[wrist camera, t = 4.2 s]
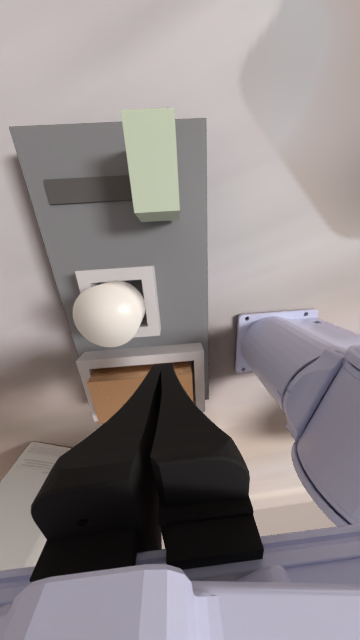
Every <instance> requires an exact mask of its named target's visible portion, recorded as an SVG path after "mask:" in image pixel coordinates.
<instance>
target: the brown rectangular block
mask: <svg viewBox="0 0 360 640" xmlns="http://www.w3.org/2000/svg"><path fill="white" fill-rule="evenodd" d="M170 363H172V364H173V366H174V370H175V373H176V375H177V377H178V379H179V381H180V383H181V385H182V387H183V388H184V390H185V391H186V393H187V394H188V396H189V397H190V398H191V400H192V401H193V383H192V371H191V365H190V361H182V362H170ZM158 364H166V363H158ZM153 365H156V364H146V365H134V366H122V367H110V368H98V369H96V370H95V371H94V373H93V374H92V376H91V377H90V378H89V380H88V381H87V386H88V389H89V393H90V396H91V399H92V403H93V406H94V409H95V413H96V416H97V419H98V423H105V422H107V421H108V420H109V419H110V418H111V417H112V416H113V415H114V414H115V413H116V412H117V411H118V410H119V409H120V408H121V407H122V406H123V405H124V404H125V403H126V402H127V401H128V399H129V398H130V397H131V396H132V395H133V393H134V392H135V391H136V390H137V388H138V387H139V386H140V384H141V383H142V381H143V380H144V378H145V377H146V375H147V374H148V372H149V370H150V369H151V367H152V366H153Z"/></svg>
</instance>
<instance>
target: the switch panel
mask: <svg viewBox="0 0 360 640" xmlns="http://www.w3.org/2000/svg"><path fill="white" fill-rule="evenodd" d="M9 129H10V132H11V136H12V139H13V142H14V146H15V149H16V152H17V156H18V159H19V162H20V166H21V169H22V172H23V176H24V179H25V182H26V185H27V189H28V192H29V195H30V199H31V202H32V205H33V209H34V212H35V215H36V219H37V222H38V225H39V229H40V232H41V235H42V238H43V242H44V245H45V248H46V252H47V255H48V258H49V262H50V265H51V268H52V272H53V275H54V278H55V282H56V285H57V288H58V291H59V295H60V298H61V301H62V305H63V308H64V311H65V315H66V318H67V321H68V325H69V328H70V331H71V335H72V338H73V341H74V344H75V348H76V351H77V354H78V359H77V360H76V364H77V368H78V371H79V374H80V377H81V380H82V384H83V387H84V390H85V393H86V396H87V400H88V403H89V406H90V409H91V413H92V416H93V419H94V422H96V421H98V419H97V416H96V413H95V409H94V406H93V403H92V399H91V396H90V393H89V389H88V386H87V381H88V380H89V378H90V377H91V376H92V374H93V373H94V371H95V370H96V369H98V368H110V367H122V366H134V365H146V364H158V363H170V362H182V361H190V365H191V371H192V383H193V402H194V403H195V405H196V406H197V407H198V408H199V409H200V410H201V411H202V412H205V400H207V399H209V377H208V260H207V143H206V118H193V119H175V129H176V147H177V166H178V184H179V202H180V213H179V218H178V220H170V221H153V222H141V221H140V220H139V219H138V217H137V216H136V215H135V213H134V207H133V199H132V192H131V184H130V177H129V169H128V162H127V154H126V146H125V139H124V131H123V124H122V122H103V123H81V124H59V125H36V126H14V127H9ZM109 281H124V282H127V283H129V284H131V285H132V286H134V287H135V288H136V289H137V290H138V291H139V292H140V293H141V295H142V297H143V299H144V301H145V308H146V309H145V315H144V318H143V320H142V322H141V324H140V326H139V328H138V330H137V332H136V334H135V336H134V337H133V338H132V339H131V340H130V341H129V342H127V343H125V344H123V345H121V346H117V347H103V346H99V345H96V344H94V343H92V342H90V341H88V340H87V339H86V338H85V337H83V336H82V334H81V333H80V332H79V331H78V329H77V327H76V326H75V323H74V320H73V306H74V303H75V301H76V299H77V297H78V296H79V295H80V294H81V293H82V292H83V291H85V290H86V289H89V288H91V287H94V286H97V285H100V284H103V283H106V282H109Z"/></svg>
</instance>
